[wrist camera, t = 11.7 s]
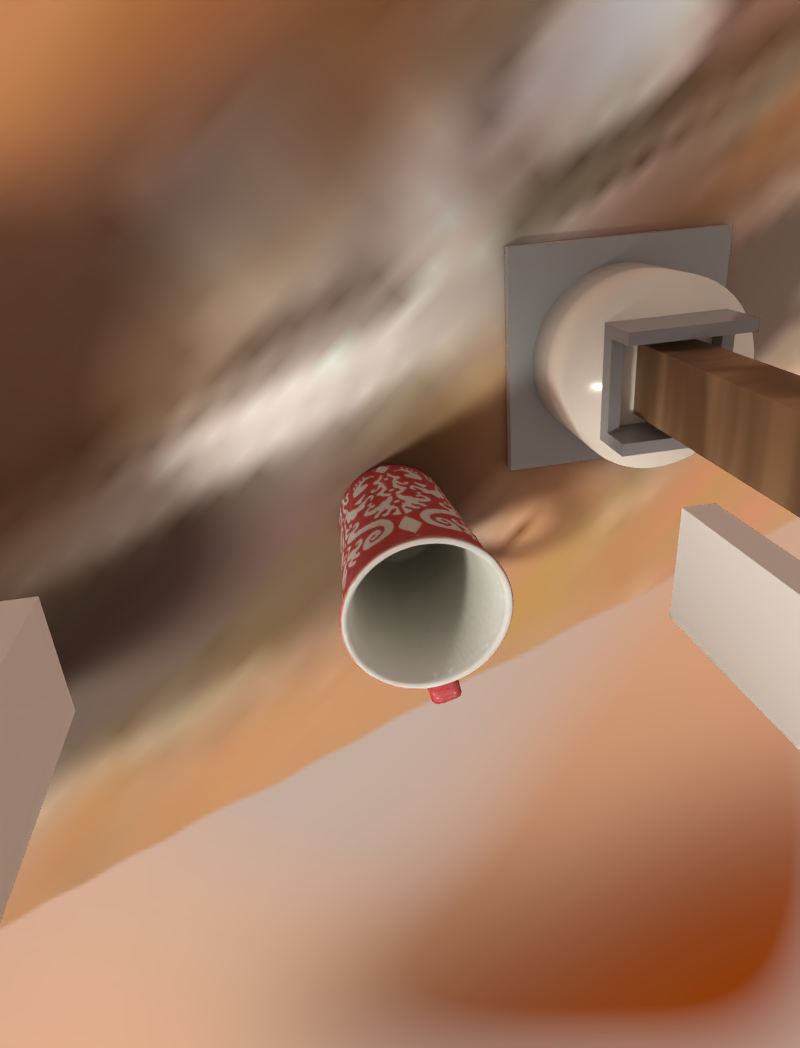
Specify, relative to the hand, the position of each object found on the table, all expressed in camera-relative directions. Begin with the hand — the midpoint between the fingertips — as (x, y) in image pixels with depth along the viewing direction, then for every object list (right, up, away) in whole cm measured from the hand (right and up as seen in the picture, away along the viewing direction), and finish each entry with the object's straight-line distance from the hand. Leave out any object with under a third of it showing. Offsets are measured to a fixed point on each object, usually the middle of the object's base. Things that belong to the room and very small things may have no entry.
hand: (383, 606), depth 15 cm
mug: (0, +1, +35) cm, 35 cm away
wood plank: (+15, +10, +26) cm, 31 cm away
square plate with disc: (+14, +13, +32) cm, 37 cm away
